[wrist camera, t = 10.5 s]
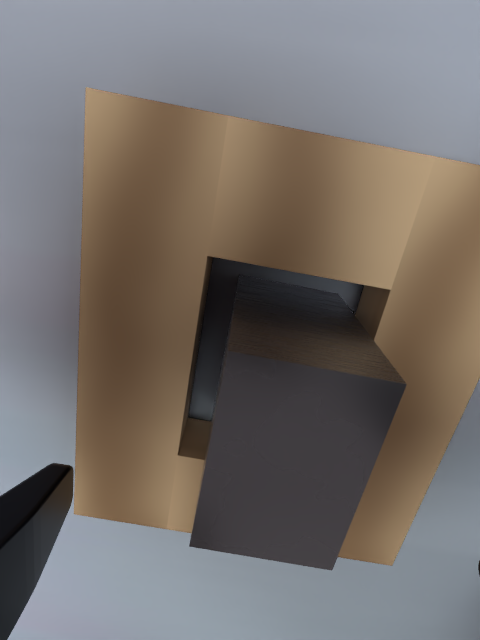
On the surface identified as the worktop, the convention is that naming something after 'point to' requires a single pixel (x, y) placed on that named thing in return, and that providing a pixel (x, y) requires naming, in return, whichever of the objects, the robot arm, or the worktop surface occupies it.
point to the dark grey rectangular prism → (292, 426)
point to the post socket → (270, 251)
